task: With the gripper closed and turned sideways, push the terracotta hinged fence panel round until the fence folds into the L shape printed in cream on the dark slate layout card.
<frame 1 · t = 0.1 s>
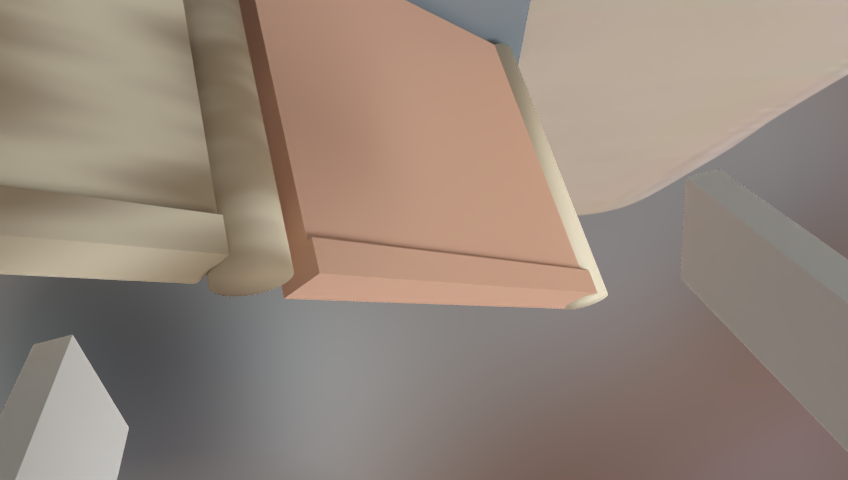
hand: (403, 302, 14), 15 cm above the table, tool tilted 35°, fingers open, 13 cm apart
hinged fence panel: (435, 138, 24), point 7 cm above the table, hinge at 0.0°
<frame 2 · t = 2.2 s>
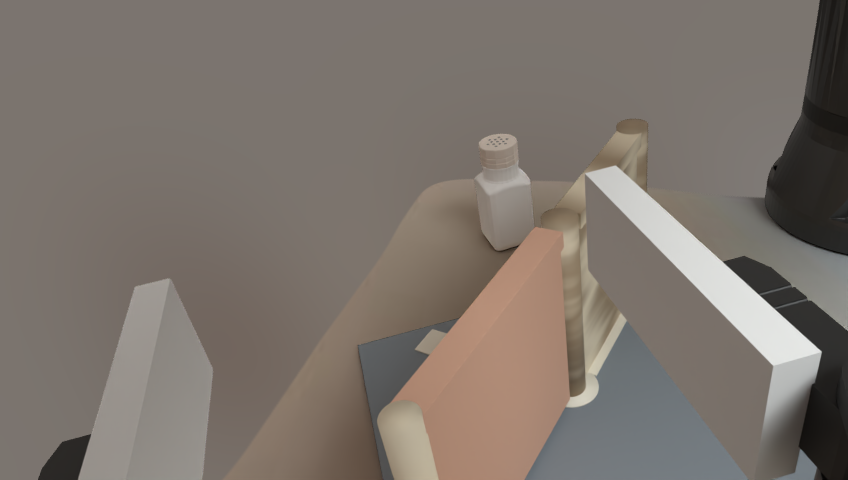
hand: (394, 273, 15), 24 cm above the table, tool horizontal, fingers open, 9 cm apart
salt shaker: (508, 239, 59), on the table
fixed fence section: (570, 386, 42), resting on layout card
hinged fence panel: (495, 410, 33), point 7 cm above the table, hinge at 0.0°
layout card: (557, 413, 41), on the table
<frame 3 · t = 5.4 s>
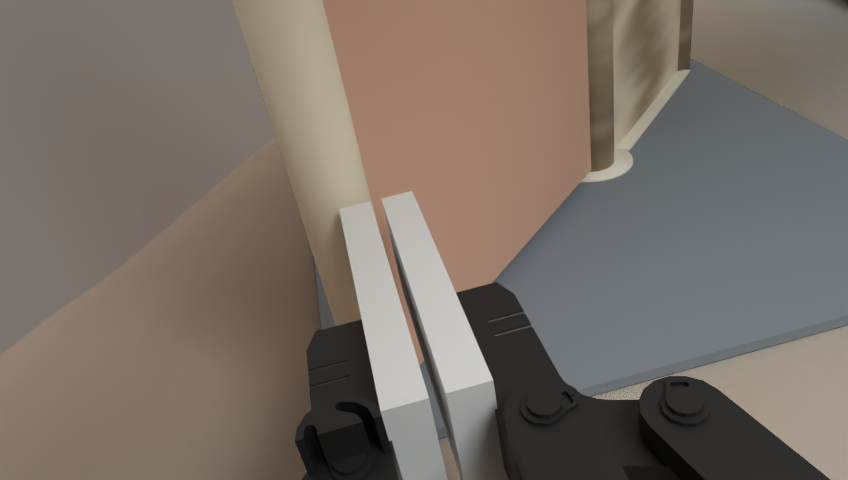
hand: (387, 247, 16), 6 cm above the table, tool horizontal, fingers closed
fixed fence section: (591, 163, 30), resting on layout card
hinged fence panel: (471, 98, 20), point 7 cm above the table, hinge at -1.5°, touching gripper
layout card: (573, 193, 29), on the table
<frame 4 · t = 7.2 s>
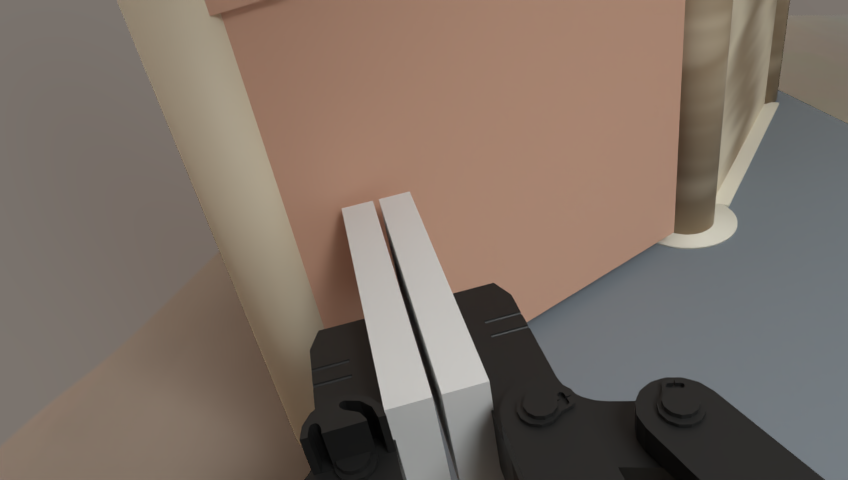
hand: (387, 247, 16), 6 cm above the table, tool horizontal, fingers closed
fixed fence section: (685, 222, 25), resting on layout card
hinged fence panel: (481, 144, 18), point 7 cm above the table, hinge at -22.9°, touching gripper
layout card: (667, 261, 24), on the table
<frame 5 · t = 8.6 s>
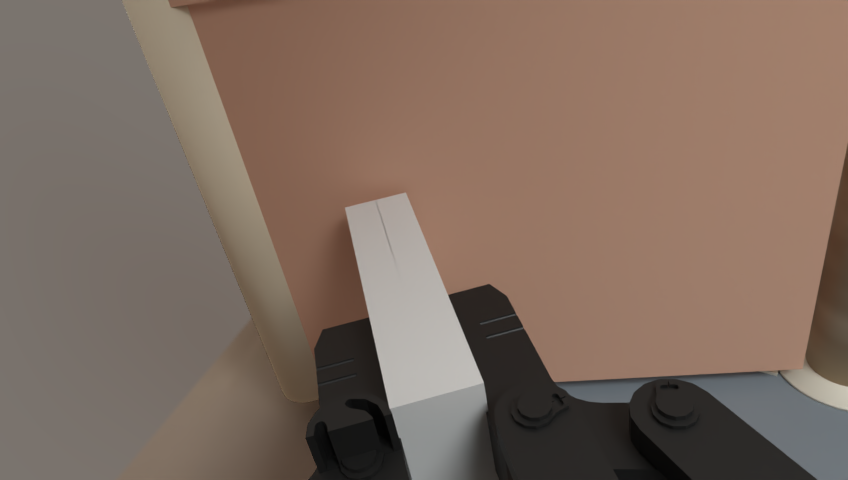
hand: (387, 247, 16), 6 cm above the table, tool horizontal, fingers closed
fixed fence section: (846, 363, 18), resting on layout card
hinged fence panel: (498, 182, 16), point 7 cm above the table, hinge at -61.7°, touching gripper
layout card: (832, 428, 17), on the table
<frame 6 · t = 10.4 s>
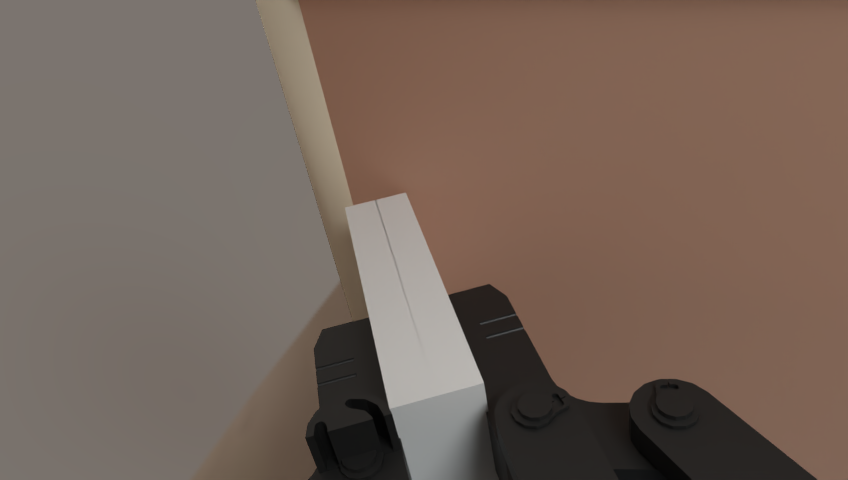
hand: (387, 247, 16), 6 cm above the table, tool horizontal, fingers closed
hinged fence panel: (578, 228, 14), point 7 cm above the table, hinge at -90.6°, touching gripper
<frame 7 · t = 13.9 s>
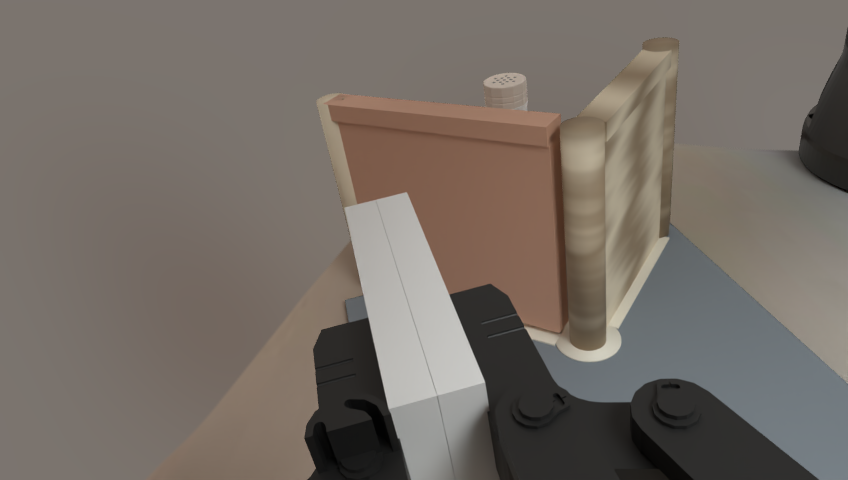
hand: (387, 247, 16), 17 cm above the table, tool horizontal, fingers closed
salt shaker: (514, 194, 53), on the table
fixed fence section: (588, 340, 37), resting on layout card
hinged fence panel: (439, 210, 38), point 7 cm above the table, hinge at -90.6°
layout card: (573, 369, 36), on the table
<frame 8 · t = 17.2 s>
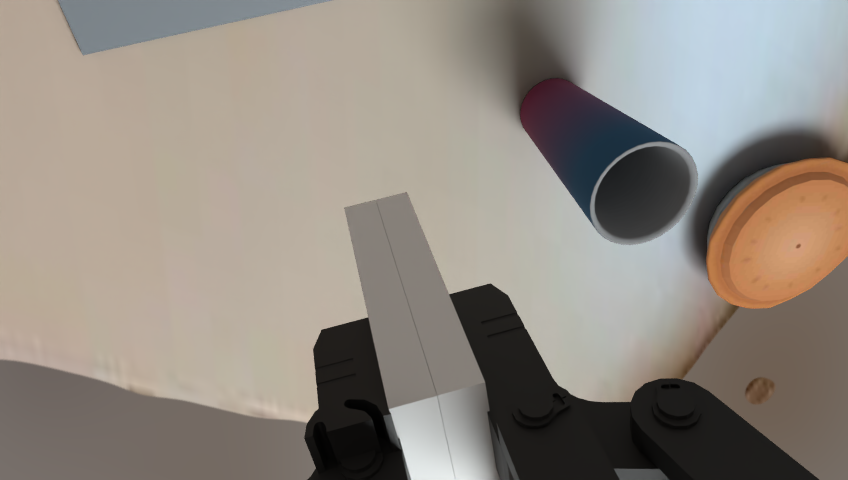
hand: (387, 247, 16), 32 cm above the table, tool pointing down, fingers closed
cup: (549, 108, 51), on the table
pie: (760, 218, 62), on the table
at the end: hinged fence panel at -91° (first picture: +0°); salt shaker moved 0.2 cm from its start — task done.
